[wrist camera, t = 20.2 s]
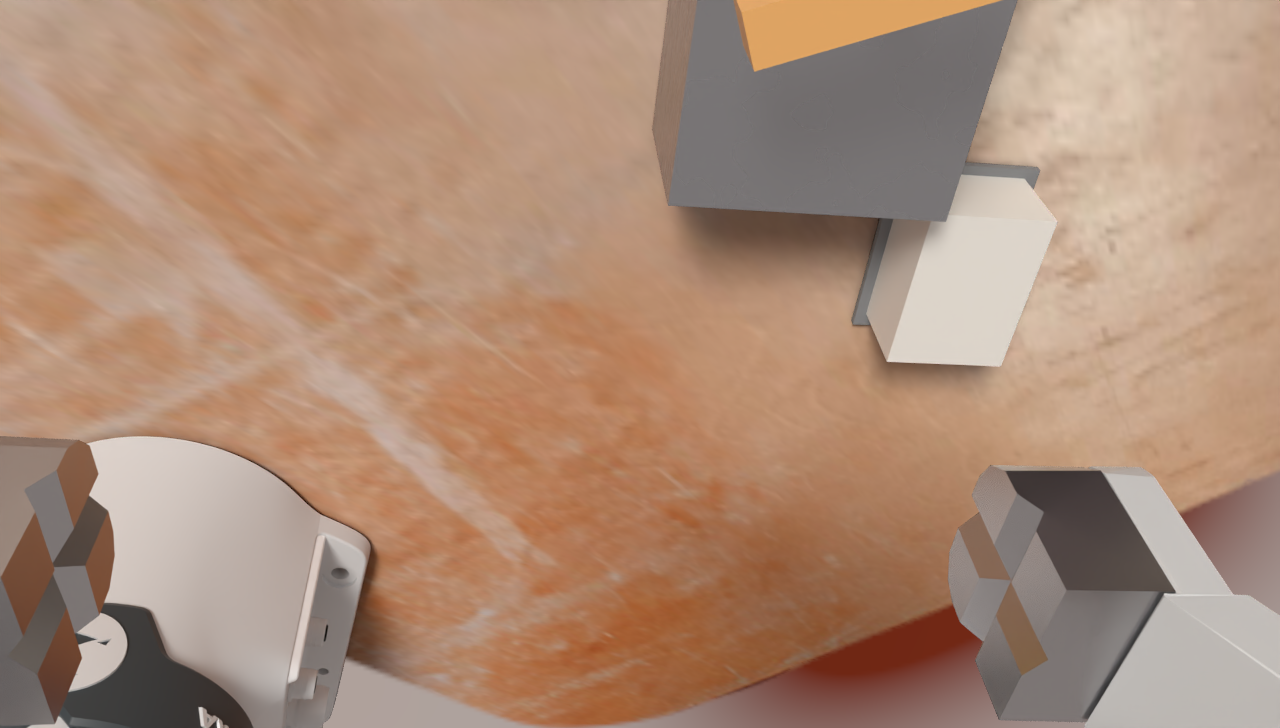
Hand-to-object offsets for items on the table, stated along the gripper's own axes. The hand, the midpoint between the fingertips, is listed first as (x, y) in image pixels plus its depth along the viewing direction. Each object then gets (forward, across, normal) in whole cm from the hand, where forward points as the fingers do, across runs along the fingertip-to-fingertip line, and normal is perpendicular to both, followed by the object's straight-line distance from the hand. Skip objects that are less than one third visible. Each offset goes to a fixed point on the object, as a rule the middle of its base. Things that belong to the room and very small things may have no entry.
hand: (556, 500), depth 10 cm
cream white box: (+31, +18, -15) cm, 39 cm away
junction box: (+31, +10, -4) cm, 33 cm away
